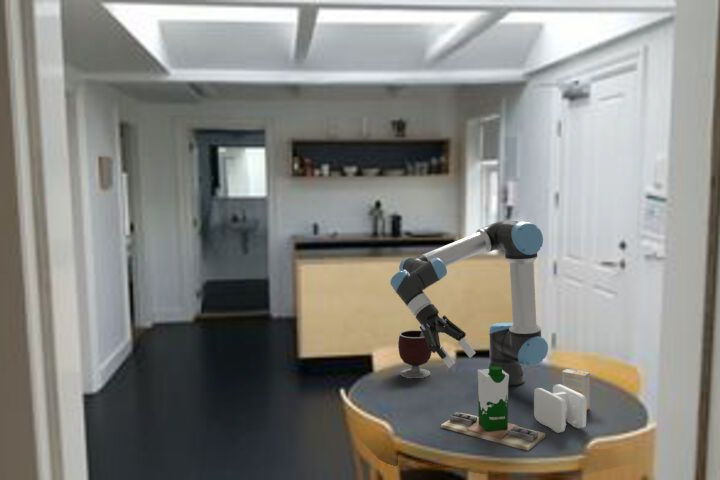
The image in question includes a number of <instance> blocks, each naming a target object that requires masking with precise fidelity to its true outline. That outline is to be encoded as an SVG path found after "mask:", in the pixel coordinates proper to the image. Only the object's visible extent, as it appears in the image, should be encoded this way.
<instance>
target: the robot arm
mask: <svg viewBox="0 0 720 480" xmlns="http://www.w3.org/2000/svg"><path fill="white" fill-rule="evenodd" d="M543 242H544V236H543V233H542V231H541V228H539V226H537V225H536V224H535V223H533V222H529V221H526V220H512V219H511V220H510V219H504V220H499V221H495V222H493V223H490V224H489V225H486V226H483V227H481V228H478V229H477V230H476V232H475V233H473V234H471V235H468V236H465V237H463V238H460V239H458V240H456V241H453V242H451V243H448V244H446V245H442V246H440V247H438V248H436V249H433V250H430V251H428V252H426V253H423V254H421V255H418V256H415V257H406V258H403V259H402V260H401V261H400V263H399V266H398V272H396V273H395V274H394V275H392V277H391V279H390V280H389V281H390V282H389V283H390V286H391V287H392V289H393V290H394V291H395V294H397V295H398V297H399V298H400V299H401V300H402V302H403V303H404V305H405V306H406V307H407V308H408V309H409V311H410V312H411V313H412V315H413V316H415V319H416V320H417V322H418V323H419V324H420V326H419V330H421V331H422V332H423V335H424V337H425V340H426V343H427V345H428V348H429V350H430V351H432V353H433V354H435V353H436V354H437V355H438V356H439V357H440V359H442V361H443V362H444V364H445V365H446V366H447V367H448V369H450V368H451V367H452V366H454V365H455V363H456V361H455V360H454V359H453V357H451V355H450V354H449V352H448V351H447V350H446V349H445V347H444V346H441V340H440V336H439V334H440V333H442V334H445V335H448V337H451V338H453V339H454V340H456V341H458V342H457V344H458V345H459V347H460V348H461V349H462V350H463V352H464V353H465V354H466V355H467V356H468V358H470V359H471V358H473V356H475V354H476V353H477V352H476V351H475V349H473V347H472V346H471V345H470V343H469V341H467V339H466V338H465V337H466V336H467V335H466V334H467V333H466V332H465V331H464V330H462V329H461V328H460V327H459V326H458V325H456V324H454V323H453V322H452V321H451V320H450V319H449V318H448V317H447V316H446V315H443V316H442V317H440V316H439V310H438V309H437V307H436V306H435V305H434V304H433V303H432V301H431V299H430V298H429V297H428V296H427V295H426V293H425V292H424V291H425V290H426V289H427V288H430V287H431V286H432V285H435V284H436V283H437V282H440V281H441V280H442V279H443V278H445V277H446V275H447V274H448V271H447V267H449V266H451V265H453V264H455V263H458V262H460V261H463V260H466V259H468V258H471V257H474V256H476V255H478V254H481V253H483V252H484V253H489V252H493V251H504V255H505V257H504V258H505V259H506V261H508V262H509V272H510V273H509V275H510V276H509V277H510V293H511V294H510V295H511V311H512V312H511V313H512V322H497V323H493V324H491V325H490V326H489V333H488V334H489V361H488V365H487V368H486V369H489V367H490V366H500V367H502V370H503V371H504V372H506V373H507V374H508V375H509V380H508V387H512V386H518V385H519V386H520V385H521V384H523V383H525V373H524V372H523V368H522V366H521V365H524V366H527V367H528V366H529V367H536V366H538V365H539V364H541V363H543V361H544V359H546V357H547V355H548V351H549V344H548V342H547V340H546V339H545V338H544V337H542V328H541V327H540V326H539V325H538V324H537V311H536V309H537V308H536V306H537V305H536V289H535V288H536V287H535V272H534V271H535V270H534V269H535V268H534V265H535V264H534V262H535V260H536V259H537V258H538V253H539V251H540V250H541V248H542V247H543ZM431 345H432V346H431Z"/></svg>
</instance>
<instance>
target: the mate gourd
mask: <svg viewBox="0 0 720 480" xmlns="http://www.w3.org/2000/svg"><path fill="white" fill-rule="evenodd" d="M397 344H398V347H397V348H398V352H399V353H398V354H399V358H400V359H401V360H402V362H403V363H405V364H407V365H409V366H411V368H405V369H403V370H401V371H400V375H401V376H402V377H403V378H405V377H406V379H411V378H421V379H425V378H424V377H426V378H429V377H430V376H431V371H430V370H428V369H424V368H420V366H422V365H424V364H427V363H428V361H429V360H430V359H431V356H432V353H433V352H432V351H430V350H429V348H428V345H427V343H426V340H425V337H424V335H423V332H422V331H421V329H419V330H418V329H417V330H416V329H412V330H405V331H401V332H399V336H398V342H397ZM431 346H432V345H431ZM429 375H430V376H429ZM428 376H429V377H428Z"/></svg>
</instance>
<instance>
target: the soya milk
mask: <svg viewBox="0 0 720 480" xmlns="http://www.w3.org/2000/svg"><path fill="white" fill-rule="evenodd" d="M508 380H509V375H508V374H507V373H506V372H504V371H503V370H502V367H500V366H490V367H489V369H487V368H483V369H477V381H478V386H477V387H478V388H477V389H478V392H477V393H478V396H477V397H478V399H477V400H478V405H477V406H478V417H479V424H480V425H481V426H482V427H483V428H484V429H485V430H486V431H487V432H490V431H500V430H508V423H509V386H508Z"/></svg>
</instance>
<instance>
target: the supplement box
mask: <svg viewBox="0 0 720 480" xmlns="http://www.w3.org/2000/svg"><path fill="white" fill-rule="evenodd" d="M561 385H563V386H565V387H567V388H570V389H572V390H574V391H576V392H578V393H581V394H582V395H584V396H585V398H586V412H587V411H588V410H590V387H591V385H590V372H588V371H582V370H577V369H572V368H567V369H564V370H562V371H561Z"/></svg>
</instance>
